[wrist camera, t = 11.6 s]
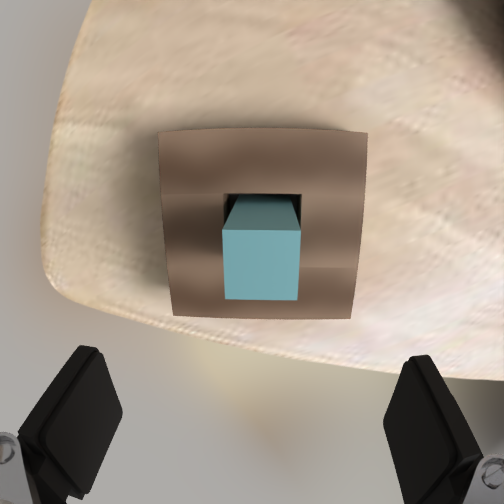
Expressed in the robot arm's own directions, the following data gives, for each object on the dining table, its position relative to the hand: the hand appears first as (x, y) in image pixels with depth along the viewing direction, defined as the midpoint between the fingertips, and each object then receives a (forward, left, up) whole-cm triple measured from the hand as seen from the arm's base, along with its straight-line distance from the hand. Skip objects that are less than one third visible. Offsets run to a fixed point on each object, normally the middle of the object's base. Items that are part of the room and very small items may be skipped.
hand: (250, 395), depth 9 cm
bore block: (0, 0, -23) cm, 23 cm away
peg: (0, 0, -22) cm, 22 cm away
